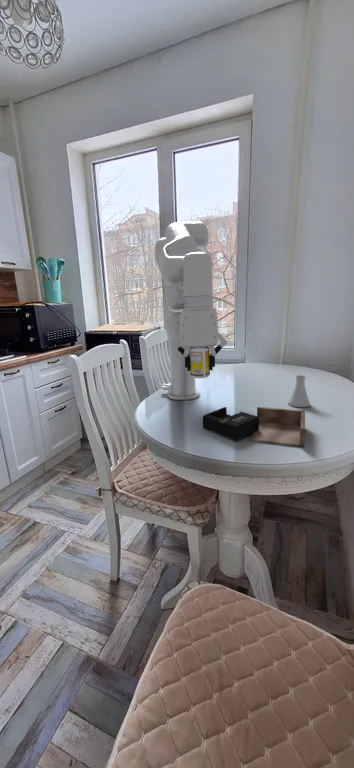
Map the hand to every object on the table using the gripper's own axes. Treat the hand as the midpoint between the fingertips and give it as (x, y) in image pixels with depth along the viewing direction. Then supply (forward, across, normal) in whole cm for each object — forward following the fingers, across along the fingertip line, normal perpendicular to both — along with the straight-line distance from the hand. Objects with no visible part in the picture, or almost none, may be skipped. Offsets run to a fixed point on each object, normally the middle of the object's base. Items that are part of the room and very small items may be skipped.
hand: (200, 369), depth 89 cm
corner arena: (+18, +21, -5) cm, 28 cm away
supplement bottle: (+2, 0, 0) cm, 2 cm away
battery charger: (+18, +8, -2) cm, 19 cm away
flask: (+18, +33, +19) cm, 42 cm away
